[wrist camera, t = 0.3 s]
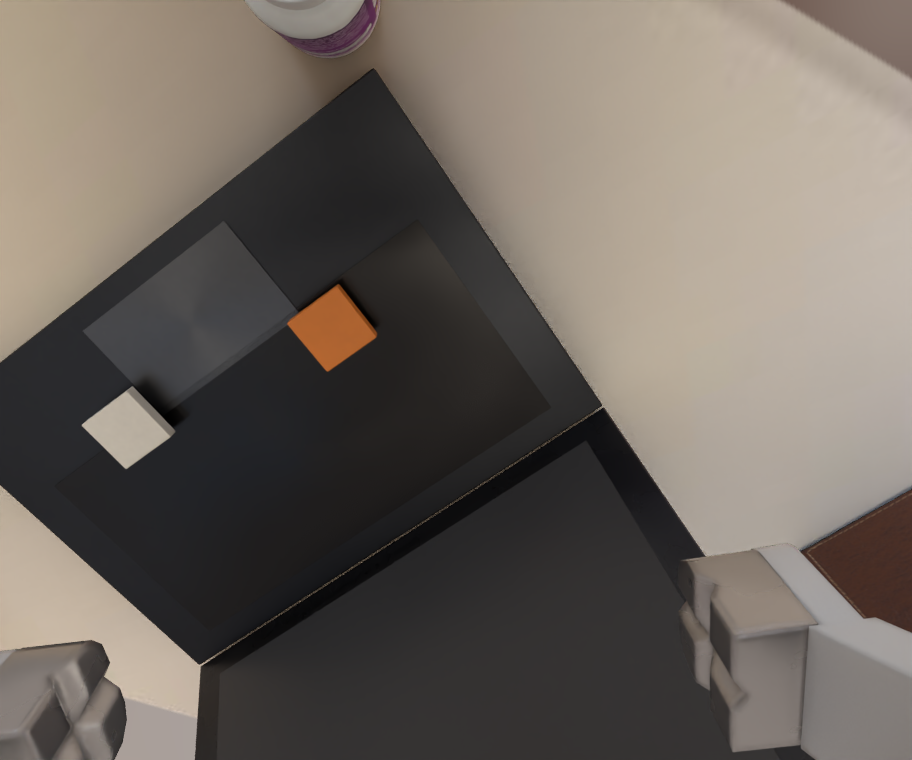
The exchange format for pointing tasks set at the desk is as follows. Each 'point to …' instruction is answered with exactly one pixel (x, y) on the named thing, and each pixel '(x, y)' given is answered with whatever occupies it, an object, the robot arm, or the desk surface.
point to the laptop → (285, 381)
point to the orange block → (332, 328)
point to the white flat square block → (129, 427)
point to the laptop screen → (489, 633)
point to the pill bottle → (320, 23)
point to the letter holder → (872, 562)
